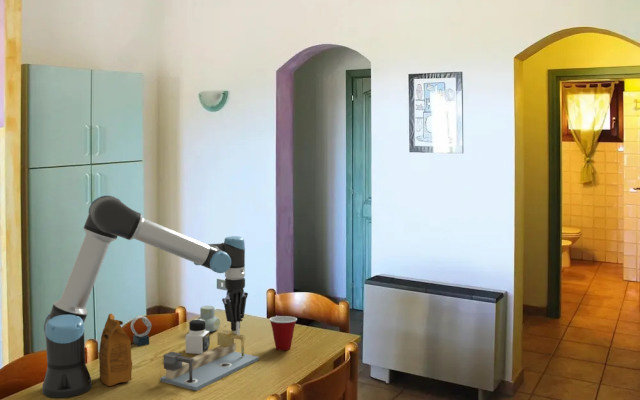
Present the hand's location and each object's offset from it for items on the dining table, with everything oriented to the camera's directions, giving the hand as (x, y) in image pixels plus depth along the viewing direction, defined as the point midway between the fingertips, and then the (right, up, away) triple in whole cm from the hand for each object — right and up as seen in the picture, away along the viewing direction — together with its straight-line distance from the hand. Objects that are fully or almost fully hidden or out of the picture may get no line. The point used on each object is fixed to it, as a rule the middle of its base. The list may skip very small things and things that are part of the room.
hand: (235, 338), depth 257 cm
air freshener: (-15, -3, +27) cm, 31 cm away
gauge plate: (-6, -7, -19) cm, 21 cm away
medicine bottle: (-15, -5, +1) cm, 16 cm away
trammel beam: (-7, -6, -17) cm, 20 cm away
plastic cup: (+18, -5, +5) cm, 19 cm away
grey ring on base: (-39, -4, +10) cm, 40 cm away
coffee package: (-37, -9, -28) cm, 48 cm away
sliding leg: (0, -4, -6) cm, 8 cm away
